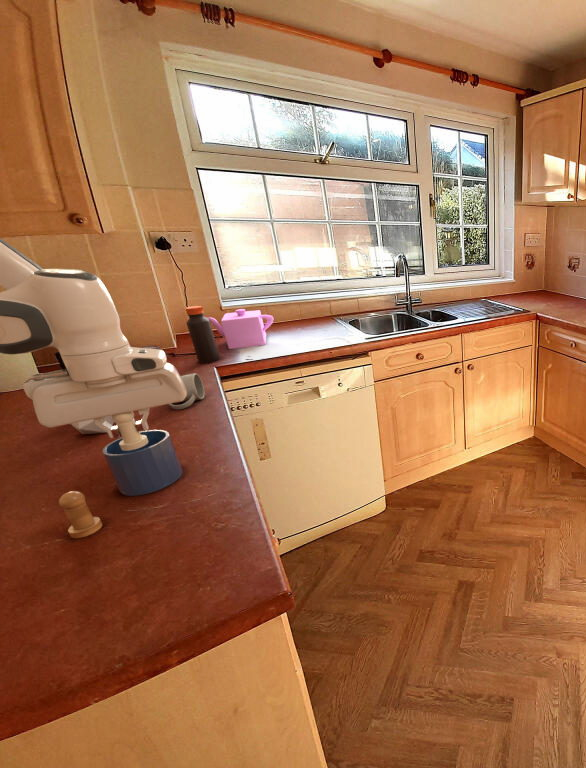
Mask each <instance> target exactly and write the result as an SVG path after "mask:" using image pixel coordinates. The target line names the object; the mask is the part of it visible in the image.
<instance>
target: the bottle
mask: <svg viewBox="0 0 586 768" xmlns="http://www.w3.org/2000/svg"><path fill="white" fill-rule="evenodd" d="M185 312H186V315H187V317H188V319H187V321H186V327H187V329H188V330H187V331H188V333H189V336H190V339H191V342H192V345H193V349H194V352H195V355H196V358H197V361H198V363H200V364H210V363H215V362H218V361H220V360H221V356H220V353H219V348H218V345H217V343H216V338H215V335H214V331H213V327H212V325H211V322H210V321H209V319H207V318H206V317H207V316H204V313H205V311H204V309H203V306H202V305H193V306H188V307H185Z"/></svg>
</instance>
